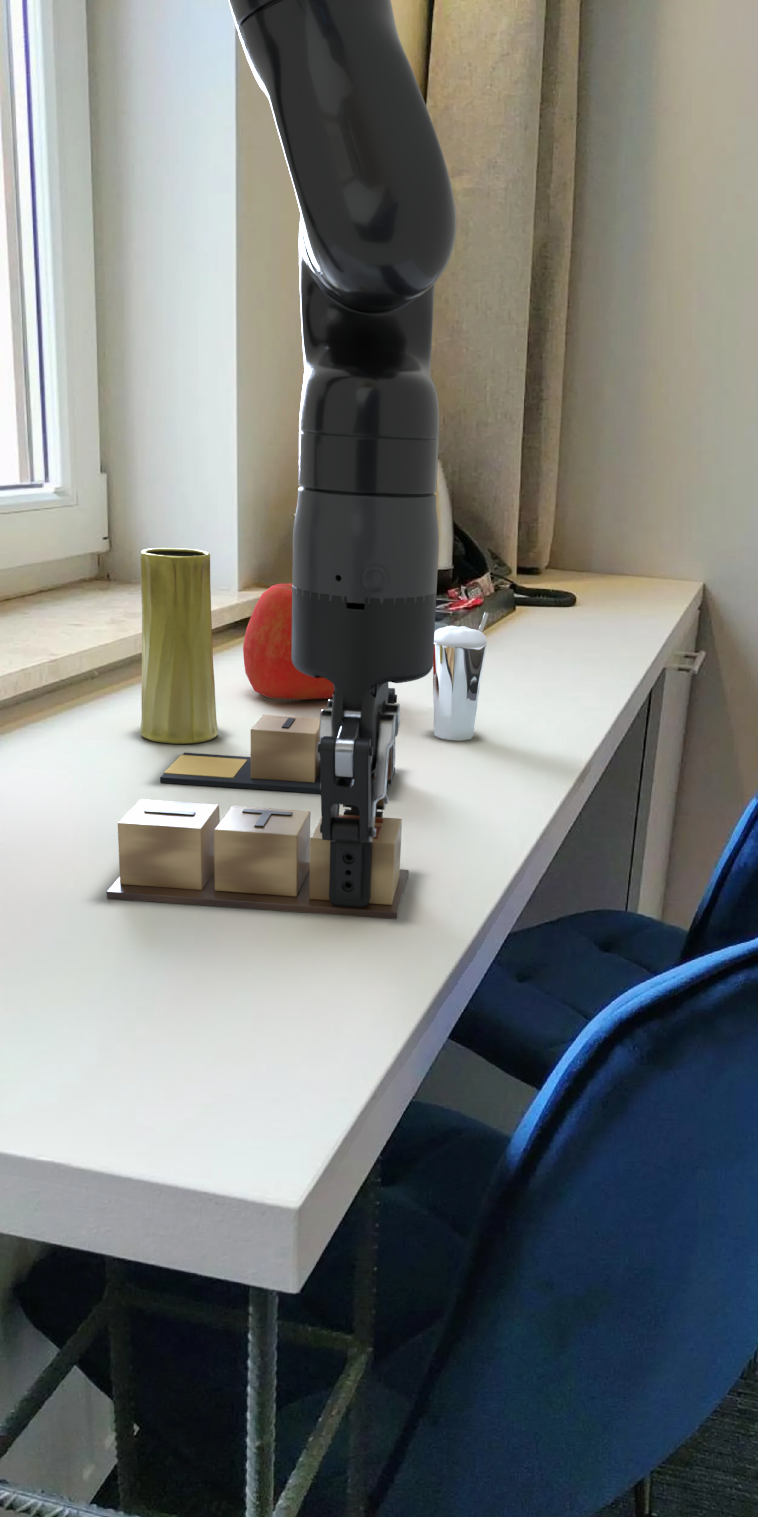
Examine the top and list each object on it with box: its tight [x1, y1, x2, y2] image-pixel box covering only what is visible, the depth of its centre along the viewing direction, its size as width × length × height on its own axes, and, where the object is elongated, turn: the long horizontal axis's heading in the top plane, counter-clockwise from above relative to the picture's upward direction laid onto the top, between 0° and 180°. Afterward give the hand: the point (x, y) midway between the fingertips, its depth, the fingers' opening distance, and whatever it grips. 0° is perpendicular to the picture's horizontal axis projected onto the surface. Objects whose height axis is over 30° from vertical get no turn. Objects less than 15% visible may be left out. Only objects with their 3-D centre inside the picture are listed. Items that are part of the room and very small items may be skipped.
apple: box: [242, 582, 334, 701], centre depth 120 cm, size 11×11×11 cm
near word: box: [106, 798, 410, 920], centre depth 75 cm, size 16×7×4 cm, turn 87°
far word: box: [159, 714, 396, 796], centre depth 96 cm, size 16×7×4 cm, turn 87°
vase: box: [139, 547, 219, 745], centre depth 104 cm, size 6×6×14 cm
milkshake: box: [432, 611, 490, 742], centre depth 110 cm, size 4×5×10 cm
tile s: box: [309, 813, 403, 905], centre depth 75 cm, size 5×5×4 cm
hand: (355, 886), depth 75 cm, fingers closed on near word, tile s, 4 cm apart
